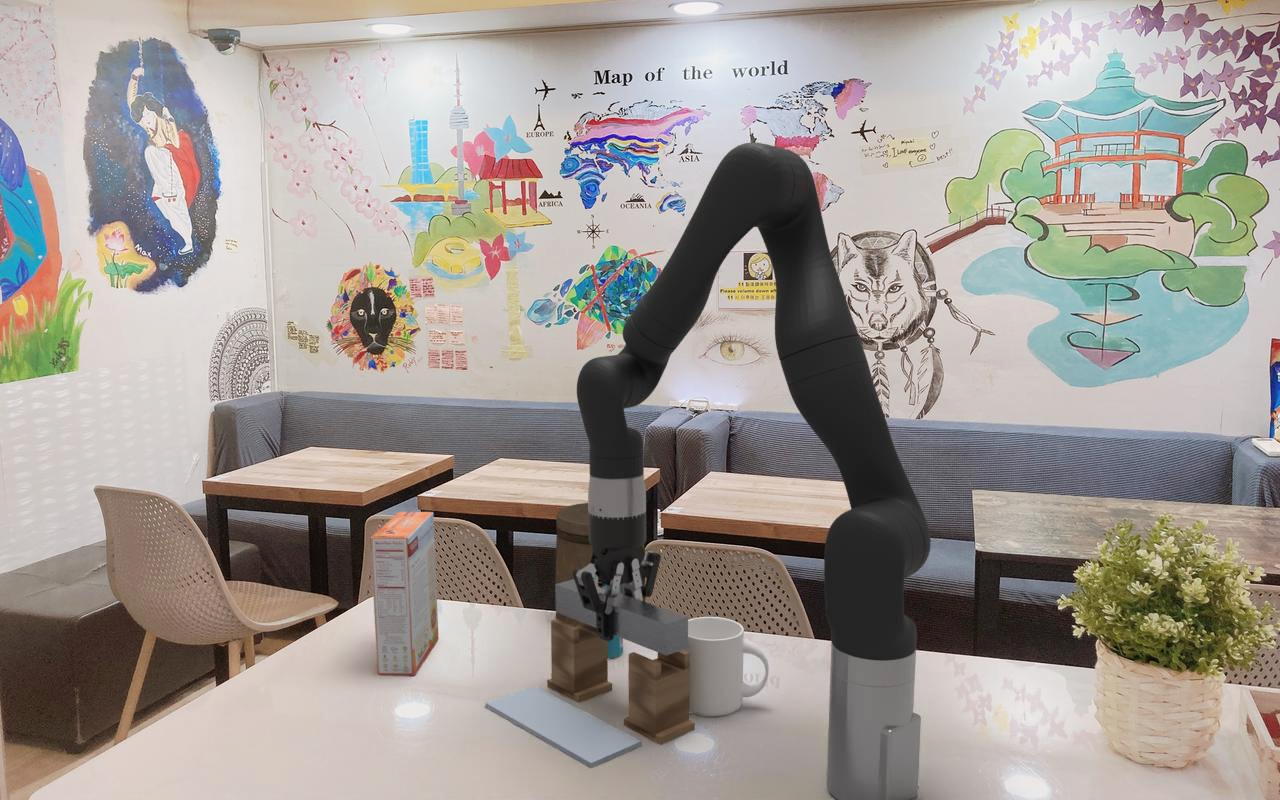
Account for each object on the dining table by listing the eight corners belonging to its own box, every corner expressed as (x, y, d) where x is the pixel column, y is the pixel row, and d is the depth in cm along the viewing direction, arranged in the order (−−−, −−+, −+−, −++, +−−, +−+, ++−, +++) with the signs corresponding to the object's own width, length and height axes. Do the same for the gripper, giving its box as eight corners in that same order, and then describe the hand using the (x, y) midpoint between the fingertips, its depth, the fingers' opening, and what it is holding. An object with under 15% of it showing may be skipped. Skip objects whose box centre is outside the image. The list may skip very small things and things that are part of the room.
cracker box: (402, 639, 160) (397, 510, 157) (439, 640, 159) (436, 510, 156) (373, 676, 146) (368, 534, 143) (414, 677, 146) (410, 535, 143)
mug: (765, 723, 131) (767, 644, 130) (673, 715, 134) (674, 637, 132) (769, 695, 140) (771, 620, 138) (683, 688, 142) (684, 614, 141)
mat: (640, 745, 125) (640, 741, 125) (591, 767, 120) (591, 763, 120) (533, 689, 141) (533, 685, 141) (485, 706, 136) (485, 702, 136)
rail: (688, 647, 127) (687, 616, 127) (666, 655, 125) (666, 624, 124) (577, 605, 143) (576, 578, 143) (555, 612, 141) (555, 584, 140)
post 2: (694, 729, 130) (695, 654, 128) (661, 744, 126) (661, 667, 124) (657, 711, 135) (657, 639, 133) (623, 725, 131) (623, 651, 129)
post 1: (612, 690, 141) (612, 621, 140) (578, 703, 137) (578, 632, 136) (580, 674, 146) (580, 608, 145) (547, 686, 142) (546, 618, 141)
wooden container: (654, 608, 174) (655, 482, 171) (630, 639, 160) (630, 503, 157) (573, 600, 178) (572, 477, 175) (542, 630, 164) (541, 497, 161)
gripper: (594, 523, 124) (596, 657, 127) (676, 503, 134) (676, 628, 136) (556, 512, 130) (559, 641, 132) (637, 494, 140) (639, 615, 142)
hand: (618, 634), depth 134 cm, fingers closed on rail, 3 cm apart
